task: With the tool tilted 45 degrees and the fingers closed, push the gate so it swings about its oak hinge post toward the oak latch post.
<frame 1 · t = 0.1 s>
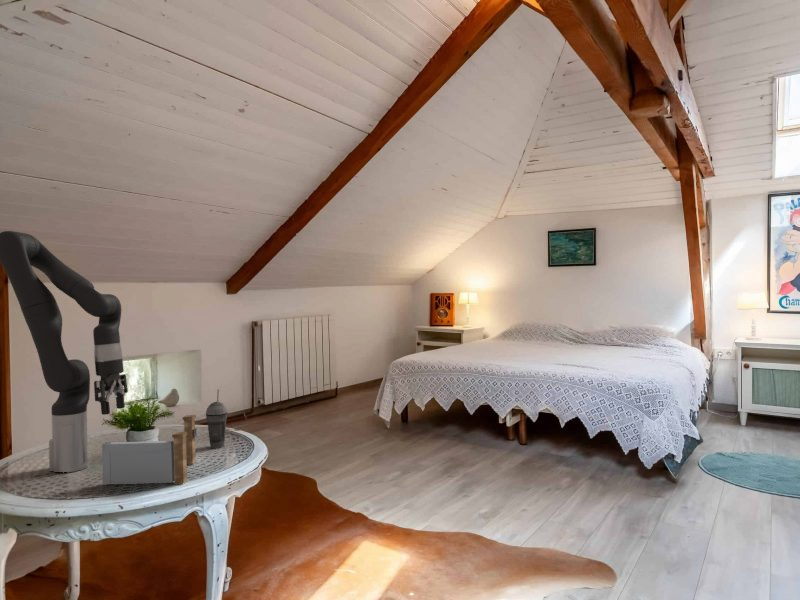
hand: (113, 411, 165), 17 cm above the table, tool pointing down, fingers open, 8 cm apart
black stepped block: (129, 462, 173), on the table
beverage cup: (217, 447, 186), on the table
latch post: (190, 463, 167), on the table
hinge post: (180, 482, 149), on the table
gate: (138, 462, 149), point 6 cm above the table, hinge at 0.0°
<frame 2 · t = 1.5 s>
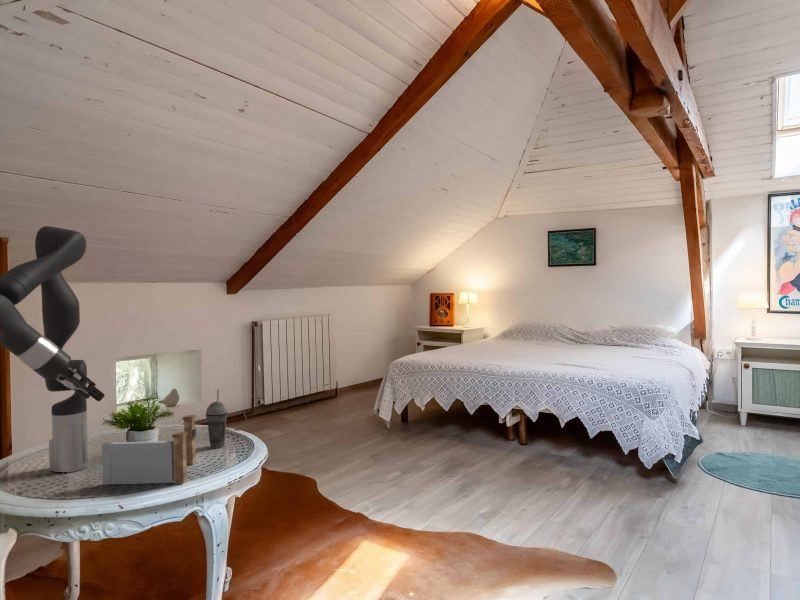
hand: (95, 397, 141), 26 cm above the table, tool tilted 45°, fingers open, 7 cm apart
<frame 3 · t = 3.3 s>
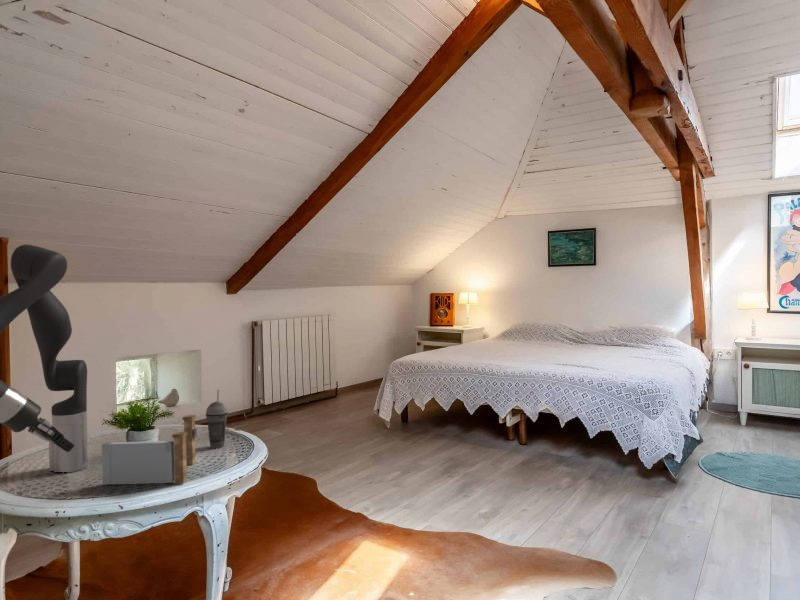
hand: (70, 448, 137), 13 cm above the table, tool tilted 45°, fingers closed
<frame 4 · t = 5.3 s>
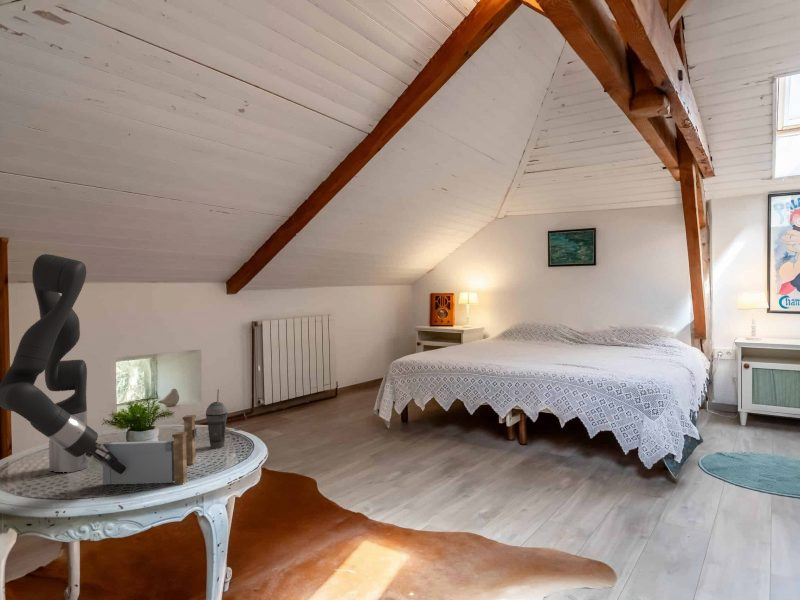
hand: (122, 470, 147), 4 cm above the table, tool tilted 45°, fingers closed
gate: (138, 462, 149), point 6 cm above the table, hinge at 0.1°, touching gripper
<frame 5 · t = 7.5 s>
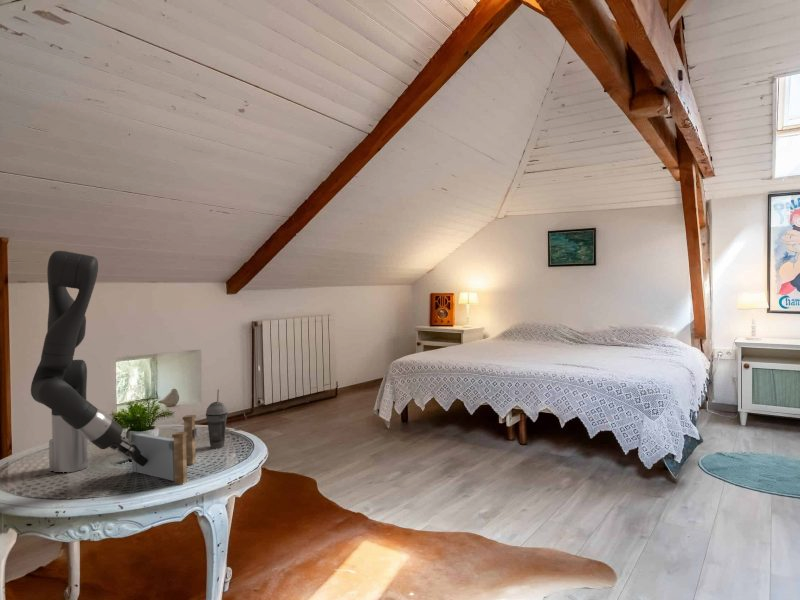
hand: (144, 463, 155), 4 cm above the table, tool tilted 45°, fingers closed
gate: (154, 455, 155), point 6 cm above the table, hinge at 31.6°, touching gripper
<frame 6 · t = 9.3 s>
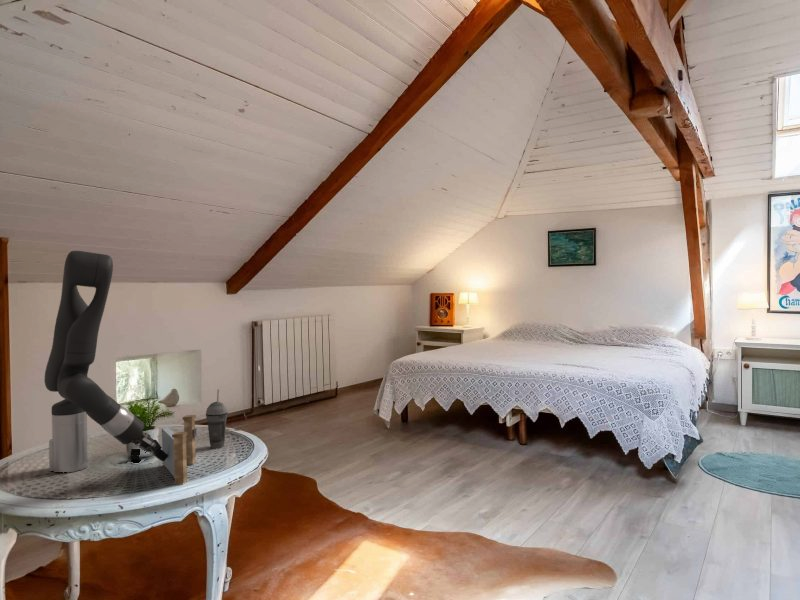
hand: (164, 458, 160), 4 cm above the table, tool tilted 45°, fingers closed
gate: (171, 452, 159), point 6 cm above the table, hinge at 56.6°, touching gripper
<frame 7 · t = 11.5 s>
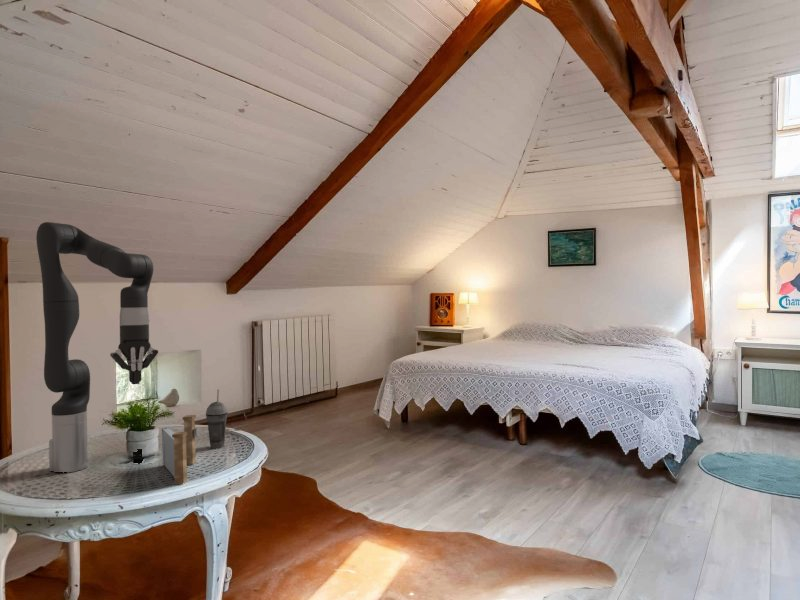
hand: (135, 383, 154), 27 cm above the table, tool pointing down, fingers closed
gate: (172, 452, 159), point 6 cm above the table, hinge at 56.8°
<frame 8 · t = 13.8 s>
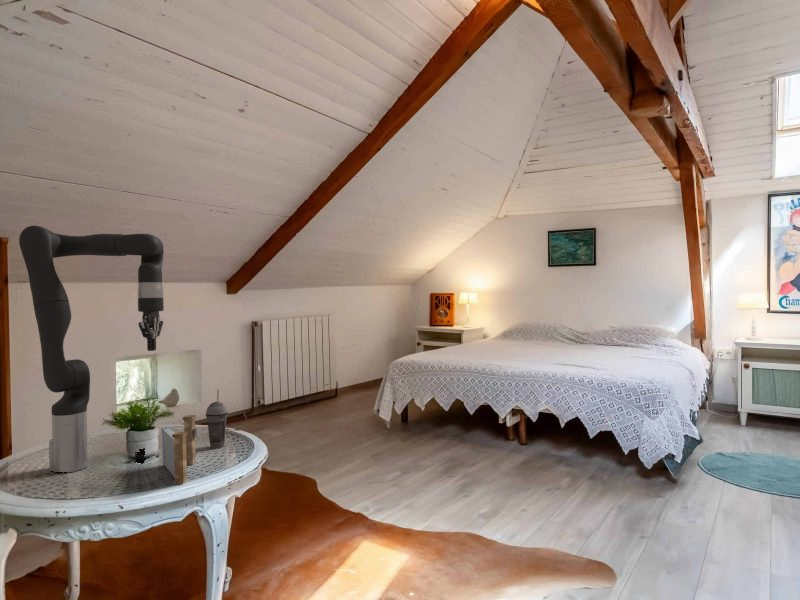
hand: (151, 350, 173), 35 cm above the table, tool pointing down, fingers closed
at the end: gate at +57° (first picture: +0°); gate touching nothing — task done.
